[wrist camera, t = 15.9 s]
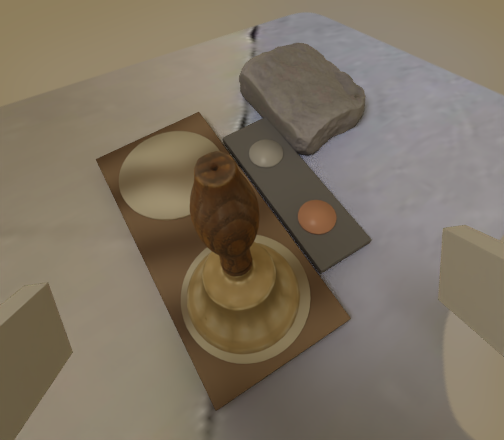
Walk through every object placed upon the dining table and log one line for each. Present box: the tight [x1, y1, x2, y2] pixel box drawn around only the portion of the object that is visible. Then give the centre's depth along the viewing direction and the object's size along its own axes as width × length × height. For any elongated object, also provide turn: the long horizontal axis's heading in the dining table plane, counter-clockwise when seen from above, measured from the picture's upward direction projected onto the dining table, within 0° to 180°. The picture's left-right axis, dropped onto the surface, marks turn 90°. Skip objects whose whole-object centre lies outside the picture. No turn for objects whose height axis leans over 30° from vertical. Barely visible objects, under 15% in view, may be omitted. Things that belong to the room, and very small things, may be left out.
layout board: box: [96, 112, 351, 410], centre depth 27 cm, size 24×11×2 cm, turn 31°
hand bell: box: [187, 151, 300, 354], centre depth 17 cm, size 8×8×16 cm
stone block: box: [239, 43, 365, 155], centre depth 33 cm, size 12×5×10 cm
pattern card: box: [223, 117, 371, 274], centre depth 29 cm, size 16×5×1 cm, turn 31°
